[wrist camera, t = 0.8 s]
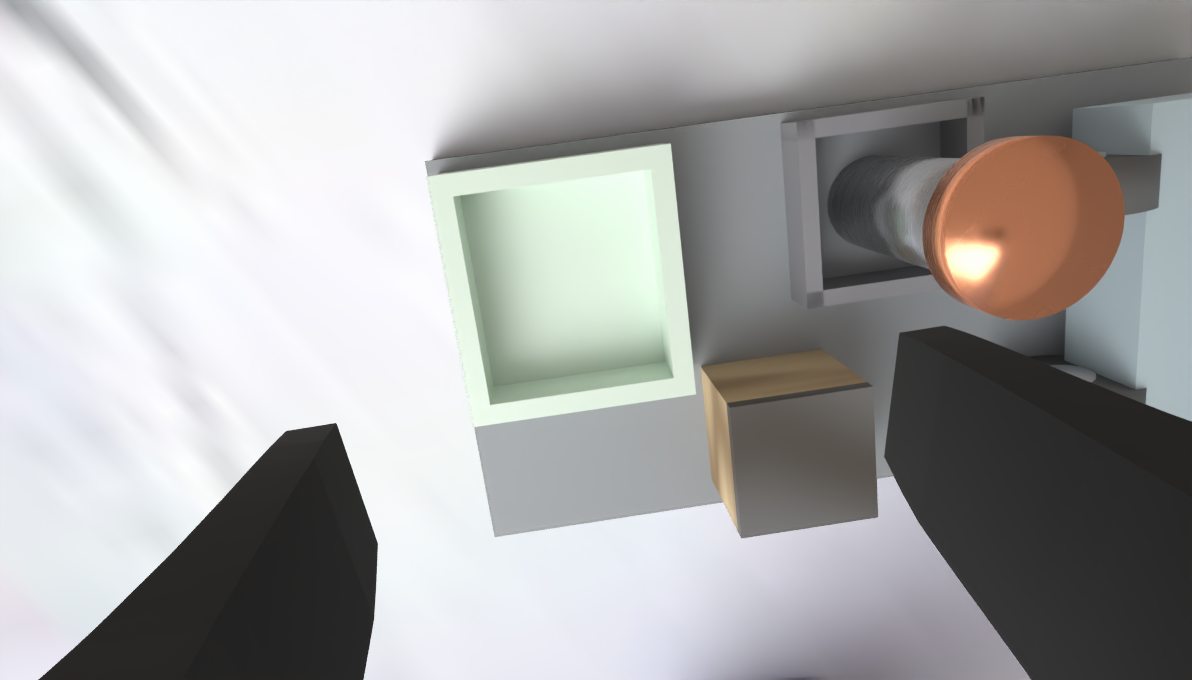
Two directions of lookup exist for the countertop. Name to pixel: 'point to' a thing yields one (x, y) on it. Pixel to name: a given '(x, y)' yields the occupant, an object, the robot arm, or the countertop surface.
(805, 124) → the ramp board
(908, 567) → the countertop surface
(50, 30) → the countertop surface
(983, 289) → the pin
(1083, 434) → the robot arm
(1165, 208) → the trolley
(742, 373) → the wooden cube
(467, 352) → the tray
